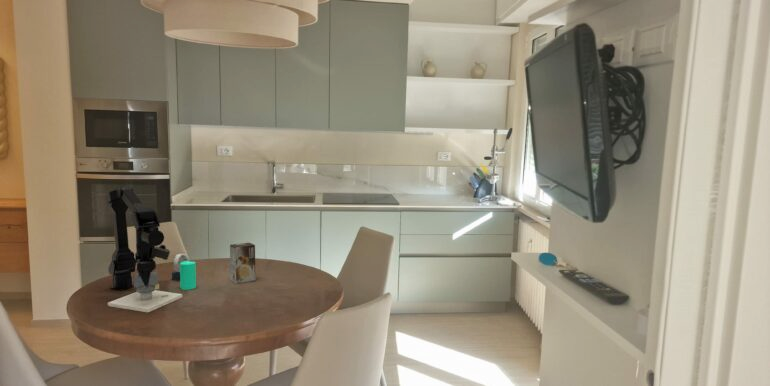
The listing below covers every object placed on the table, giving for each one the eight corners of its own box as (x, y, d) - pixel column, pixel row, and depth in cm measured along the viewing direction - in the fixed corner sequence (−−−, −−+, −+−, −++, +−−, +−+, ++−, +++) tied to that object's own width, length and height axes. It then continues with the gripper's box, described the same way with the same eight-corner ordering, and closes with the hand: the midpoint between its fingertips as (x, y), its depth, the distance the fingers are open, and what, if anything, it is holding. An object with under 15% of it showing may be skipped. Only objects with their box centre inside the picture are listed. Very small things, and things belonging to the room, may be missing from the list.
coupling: (134, 294, 185) (133, 277, 184) (133, 289, 190) (133, 273, 189) (159, 291, 189) (159, 275, 188) (158, 286, 194) (158, 271, 193)
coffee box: (249, 277, 225) (249, 242, 223) (255, 280, 220) (255, 244, 218) (229, 280, 219) (229, 244, 217) (235, 284, 214) (235, 247, 213)
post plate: (107, 305, 184) (107, 295, 183) (144, 291, 201) (144, 281, 200) (148, 312, 179) (147, 301, 178) (182, 297, 196) (182, 287, 195)
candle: (190, 290, 204) (190, 261, 203) (177, 288, 206) (176, 260, 204) (198, 286, 210) (198, 258, 209) (185, 284, 211) (185, 256, 210)
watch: (191, 276, 223) (190, 252, 222) (182, 281, 215) (181, 256, 214) (179, 275, 224) (178, 251, 223) (169, 280, 216) (169, 255, 215)
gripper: (170, 245, 183) (171, 286, 184) (166, 235, 199) (166, 273, 201) (136, 247, 177) (137, 290, 179) (134, 237, 194) (135, 276, 196)
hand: (145, 282), depth 189 cm, fingers open, 9 cm apart
